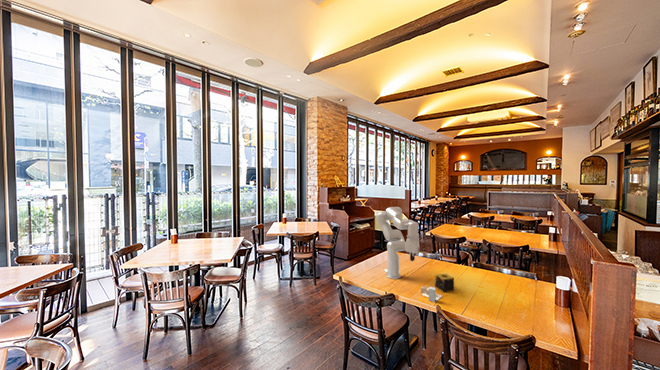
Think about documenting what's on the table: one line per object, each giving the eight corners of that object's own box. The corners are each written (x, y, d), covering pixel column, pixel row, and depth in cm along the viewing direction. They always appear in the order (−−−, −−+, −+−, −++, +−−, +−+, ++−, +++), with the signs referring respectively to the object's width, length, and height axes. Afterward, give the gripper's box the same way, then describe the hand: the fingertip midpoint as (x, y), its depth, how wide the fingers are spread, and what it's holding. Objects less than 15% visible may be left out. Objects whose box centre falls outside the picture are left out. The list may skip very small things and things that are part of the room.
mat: (421, 295, 193) (421, 294, 193) (426, 291, 200) (426, 290, 200) (437, 300, 185) (437, 300, 185) (442, 296, 191) (442, 295, 191)
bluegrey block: (428, 301, 184) (428, 288, 184) (429, 298, 188) (429, 286, 187) (434, 302, 182) (434, 289, 182) (435, 300, 185) (435, 287, 185)
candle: (443, 292, 198) (443, 279, 198) (434, 286, 208) (434, 274, 207) (454, 290, 201) (454, 277, 200) (445, 285, 210) (445, 273, 210)
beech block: (420, 287, 196) (432, 291, 190) (423, 286, 199) (434, 289, 192) (420, 292, 196) (432, 296, 190) (423, 291, 199) (434, 294, 193)
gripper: (401, 236, 205) (401, 259, 206) (419, 240, 194) (418, 264, 195) (406, 235, 210) (406, 257, 211) (424, 238, 199) (423, 261, 200)
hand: (412, 260), depth 203 cm, fingers closed
